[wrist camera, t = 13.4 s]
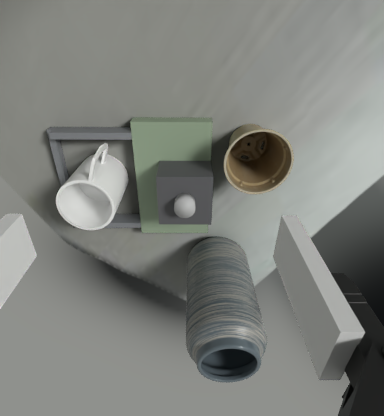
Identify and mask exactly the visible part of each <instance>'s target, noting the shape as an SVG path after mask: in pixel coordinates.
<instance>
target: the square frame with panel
mask: <svg viewBox="0 0 384 416" xmlns="http://www.w3.org/2000/svg"><path fill="white" fill-rule="evenodd" d="M130 125H131V127H50V128H48V129H47V130H46V131H47V135H48V139H49V143H50V146H51V150H52V154H53V158H54V162H55V165H56V169H57V173H58V177H59V181H60V185H61V187H62V186H63V185H64V183H65V182H66V181H67V180H68V179H69V176H68V172H67V167H66V163H65V159H64V155H63V151H62V147H61V143H60V139H82V140H131V139H132V144H133V154H134V163H135V173H136V182H137V192H138V201H139V211H140V214H115V215H114V218H113V219H112V221H111V222H110V223H109V224H108V225H107V226H105V227H103V228H141V229H142V233H208V225H211V218H212V198H213V178H214V177H213V171H212V165H211V145H212V118H132V120H131V121H130ZM73 228H77V227H75V226H73Z"/></svg>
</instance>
